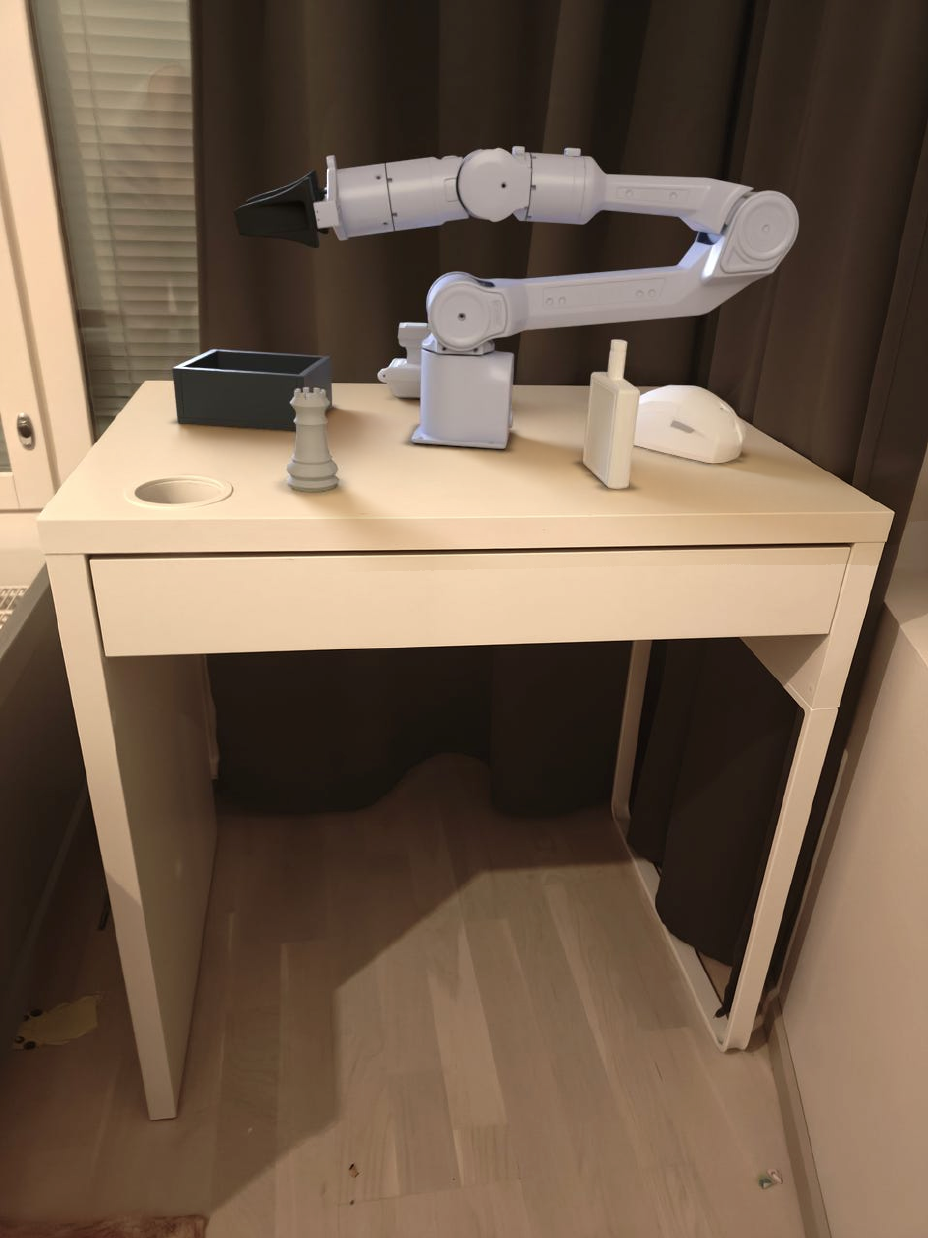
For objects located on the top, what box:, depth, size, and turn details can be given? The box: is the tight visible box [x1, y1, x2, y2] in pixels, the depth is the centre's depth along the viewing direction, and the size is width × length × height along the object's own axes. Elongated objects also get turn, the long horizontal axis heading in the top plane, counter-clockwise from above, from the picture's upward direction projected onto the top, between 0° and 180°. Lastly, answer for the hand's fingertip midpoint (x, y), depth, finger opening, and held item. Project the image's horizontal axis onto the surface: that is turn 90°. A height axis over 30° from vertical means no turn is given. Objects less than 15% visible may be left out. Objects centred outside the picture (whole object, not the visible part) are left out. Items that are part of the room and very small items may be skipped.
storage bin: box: [171, 348, 333, 432], centre depth 98 cm, size 14×12×6 cm
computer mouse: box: [634, 384, 747, 464], centre depth 92 cm, size 6×13×6 cm, turn 47°
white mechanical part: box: [377, 322, 432, 400], centre depth 109 cm, size 9×7×8 cm
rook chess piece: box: [285, 387, 340, 493], centre depth 76 cm, size 4×4×8 cm
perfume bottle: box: [582, 339, 641, 490], centre depth 81 cm, size 8×2×12 cm, turn 10°
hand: (243, 216), depth 84 cm, fingers open, 7 cm apart
